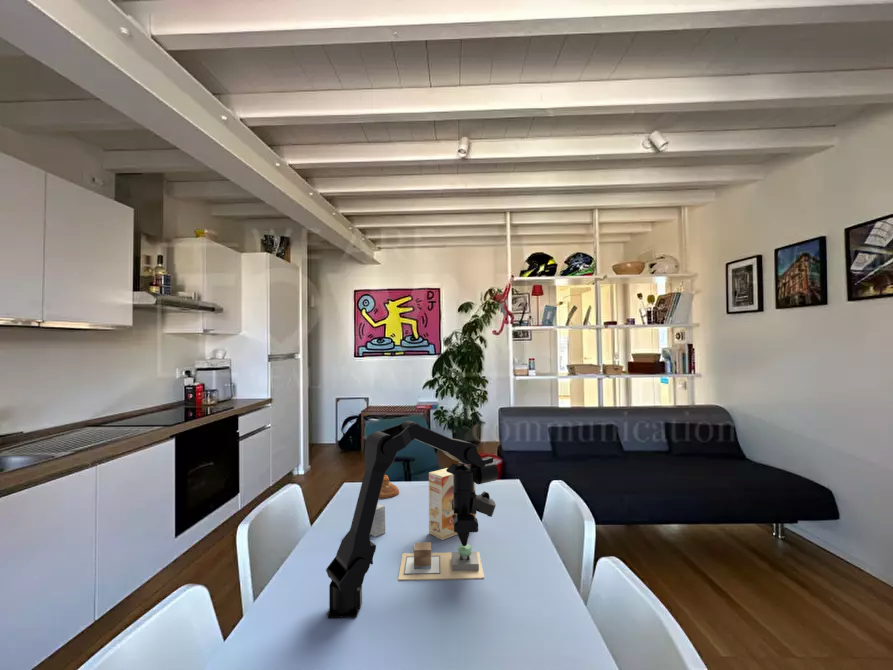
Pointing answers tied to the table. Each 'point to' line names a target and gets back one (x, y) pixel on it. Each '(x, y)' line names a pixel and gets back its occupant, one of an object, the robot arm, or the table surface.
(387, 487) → the bell
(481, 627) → the table surface
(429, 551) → the block
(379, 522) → the medicine box
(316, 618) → the table surface
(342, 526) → the table surface
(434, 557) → the tan rectangular board
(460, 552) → the button
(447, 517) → the coffeecake box
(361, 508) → the robot arm
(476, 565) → the button housing
